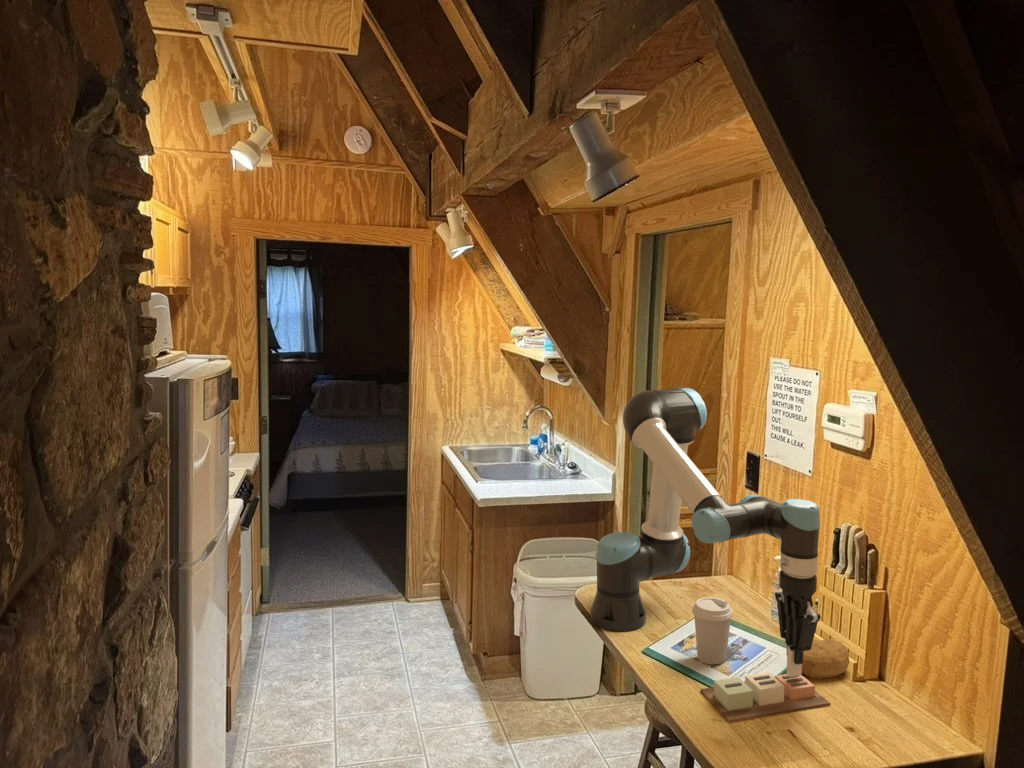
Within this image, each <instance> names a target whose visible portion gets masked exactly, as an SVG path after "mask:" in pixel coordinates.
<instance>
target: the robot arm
mask: <svg viewBox="0 0 1024 768" xmlns="http://www.w3.org/2000/svg"><path fill="white" fill-rule="evenodd" d="M707 411H708V410H707V406H706V404H705V401H704V400H703V399H702V396H701V395H700V394H699V393H698V392H697V391H696V390H694V389H693V388H689V387H683V388H682V387H675V388H663V389H654V390H644V391H643V390H642V391H640V392H637V393H636V394H634V395H633V396H631V398H630V399H629V400H628V401H627V403H626V404H625V407H624V409H623V413H622V424H623V428H624V431H625V433H626V437H627V438H628V439H629V440H630V441H631V443H632V444H633V445H634V446H635V447H636V448H639V449H642V450H643V452H644V454H646V456H647V457H648V458H649V459H650V461H651V462H652V463H653V464H652V474H651V484H650V493H649V503H648V513H647V520H646V521H645V522H644V523H642V524H641V528H640V535H639V536H638V535H637V534H635V533H633V532H629V531H623V532H621V531H618V532H612V533H608V534H607V535H604V536H603V537H602V538H600V540H599V541H598V542H597V545H596V554H595V555H596V556H595V559H596V592H595V593H596V594H595V596H594V599H593V602H592V606H591V608H590V621H591V622H592V623H593V625H595V626H596V627H599V628H601V629H603V630H607V631H610V632H611V631H612V632H629V631H631V632H632V631H634V630H638V629H640V628H642V627H643V626H645V624H646V621H647V619H646V617H647V614H646V609H645V606H644V603H643V600H642V598H641V594H640V584H641V583H640V581H643V580H648V579H652V578H657V577H661V576H670V575H673V574H675V573H679V572H681V571H683V570H684V569H685V568H686V567H687V566H688V563H689V561H690V557H691V546H690V545H689V539H688V537H687V536H686V535H685V533H684V530H683V528H682V527H681V526H680V518H681V517H680V516H681V510H682V508H681V507H682V502H683V503H684V505H685V506H686V507H687V508H688V509H689V511H690V512H691V513H692V517H691V528H692V529H693V530H694V535H695V537H696V538H697V539H698V541H700V542H702V543H704V544H714V543H715V544H717V543H719V544H720V543H725V542H728V541H732V540H736V539H741V538H749V537H753V536H759V535H763V534H764V535H769V536H770V537H773V538H776V539H778V540H780V549H779V550H780V565H779V568H780V571H779V577H778V578H779V579H778V580H779V581H778V585H779V588H780V589H781V591H777V592H776V591H775V592H774V597H775V600H776V605H777V607H776V608H777V613H778V625H779V633H780V637H781V639H784V642H785V644H786V673H785V674H787V675H788V676H790V677H796V676H801V675H802V663H803V651H808V650H811V647H812V643H813V640H814V639H815V634H816V629H817V625H818V622H820V620H821V618H822V617H821V614H820V613H818V612H817V613H816V612H815V610H814V609H813V606H814V604H813V595H814V594H816V593H817V587H818V584H817V583H818V576H817V574H818V572H819V571H818V569H819V567H818V565H819V541H820V540H819V539H820V528H821V518H820V517H821V515H820V507H819V506H818V504H817V503H815V502H814V501H811V500H809V499H808V500H805V499H802V498H790V499H786V500H784V501H783V502H782V503H780V502H778V501H775V500H772V499H769V497H765V496H763V495H757V494H748V495H746V496H745V497H744V498H743V499H741V500H740V501H739V502H737V503H736V502H735V503H730V504H728V503H727V501H726V500H725V499H724V498H723V496H721V494H720V493H719V492H718V491H717V490H716V489H715V487H714V486H713V485H712V484H711V482H710V481H709V480H708V479H707V477H705V476H704V474H703V473H702V471H701V470H700V469H699V468H698V467H697V466H696V463H694V462H693V461H692V459H691V458H690V457H689V455H688V448H689V445H692V443H694V442H695V439H696V431H697V432H698V431H699V430H701V429H703V427H704V426H705V424H706V423H707V419H708V418H707V416H708V412H707Z"/></svg>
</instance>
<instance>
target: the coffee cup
mask: <svg viewBox="0 0 1024 768" xmlns="http://www.w3.org/2000/svg"><path fill="white" fill-rule="evenodd" d="M730 605H731V604H730V603H729V602H728V601H727V600H725V599H722V598H718V597H712V596H710V597H709V596H705V597H700V598H698V599H697V600H695V603H694V604H693V606H692V608H691V609H692V610H691V611H692V614H693V617H694V626H695V627H694V628H695V641H696V655H697V658H698V659H699V660H700V661H701V662H703V663H705V664H709V665H720V664H723V663H725V662H726V660H727V654H728V644H729V636H730V628H731V622H732V621H731V620H732V618H733V616H734V611H733V608H732V607H731V606H730Z"/></svg>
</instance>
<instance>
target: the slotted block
mask: <svg viewBox="0 0 1024 768" xmlns="http://www.w3.org/2000/svg"><path fill="white" fill-rule="evenodd" d="M744 682H745V681H743V680H742V679H741V678H740V676H735V677H729V678H722V679H716V680H714V681H713V683H714V684H713V685H714V686H713V687H714V698H715V699H716V700H717V701H718V702H719V703H720V704H721V705H722V706H723V707H724V708H725V709H726V710H727V711H733V710H739V709H745V708H751V707H753V690H752V689H751V688H750V687H748V686H747V685H746V684H745V683H744Z"/></svg>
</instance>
